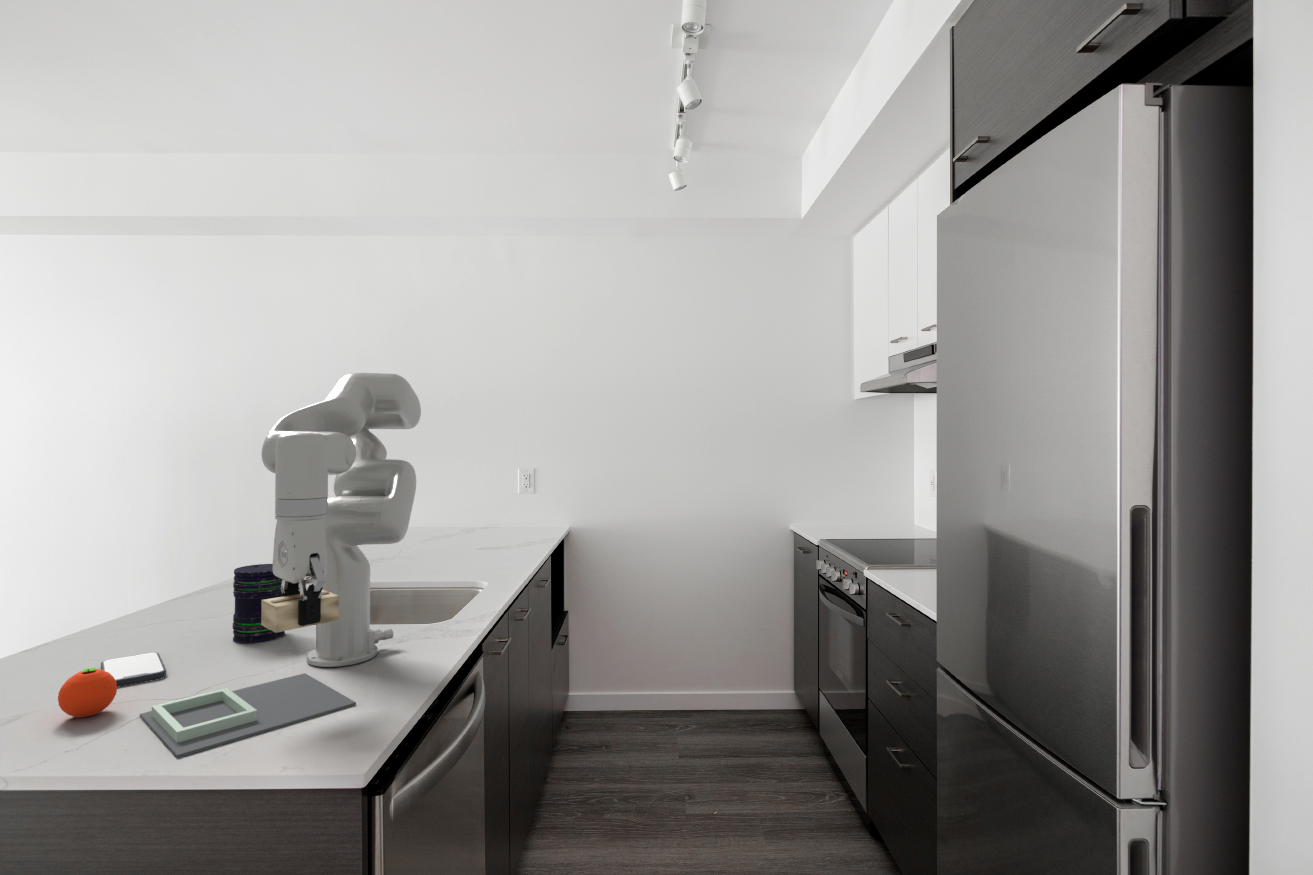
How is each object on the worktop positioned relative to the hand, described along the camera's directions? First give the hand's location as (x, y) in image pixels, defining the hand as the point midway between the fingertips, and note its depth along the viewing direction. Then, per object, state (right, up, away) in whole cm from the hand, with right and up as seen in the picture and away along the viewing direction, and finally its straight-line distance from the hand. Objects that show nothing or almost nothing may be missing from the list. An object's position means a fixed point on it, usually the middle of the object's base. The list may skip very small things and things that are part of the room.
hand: (300, 618), depth 106 cm
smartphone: (-38, -14, +14) cm, 43 cm away
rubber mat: (-6, -14, -3) cm, 15 cm away
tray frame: (-11, -14, -7) cm, 19 cm away
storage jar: (-28, -14, +35) cm, 47 cm away
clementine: (-30, -14, -5) cm, 33 cm away
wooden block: (0, -1, 0) cm, 1 cm away
